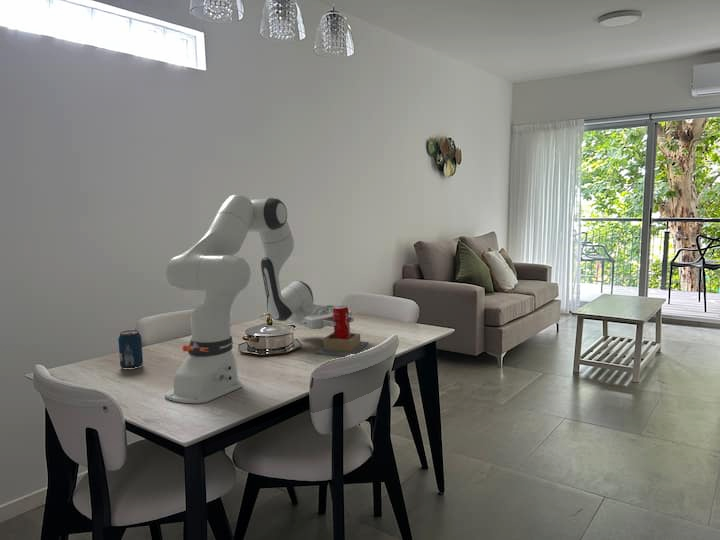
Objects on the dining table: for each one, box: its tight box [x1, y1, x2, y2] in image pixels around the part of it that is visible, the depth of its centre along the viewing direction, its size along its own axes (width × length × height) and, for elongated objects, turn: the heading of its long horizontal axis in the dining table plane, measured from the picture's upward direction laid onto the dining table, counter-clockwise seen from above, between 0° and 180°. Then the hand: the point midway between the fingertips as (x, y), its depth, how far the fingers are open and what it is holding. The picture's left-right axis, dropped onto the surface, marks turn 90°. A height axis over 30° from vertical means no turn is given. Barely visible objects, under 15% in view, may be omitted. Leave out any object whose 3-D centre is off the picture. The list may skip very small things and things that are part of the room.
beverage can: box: [333, 305, 351, 340], centre depth 193 cm, size 6×6×15 cm
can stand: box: [314, 331, 369, 357], centre depth 194 cm, size 18×14×5 cm
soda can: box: [117, 329, 144, 369], centre depth 175 cm, size 7×7×12 cm
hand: (343, 321), depth 192 cm, fingers open, 8 cm apart
